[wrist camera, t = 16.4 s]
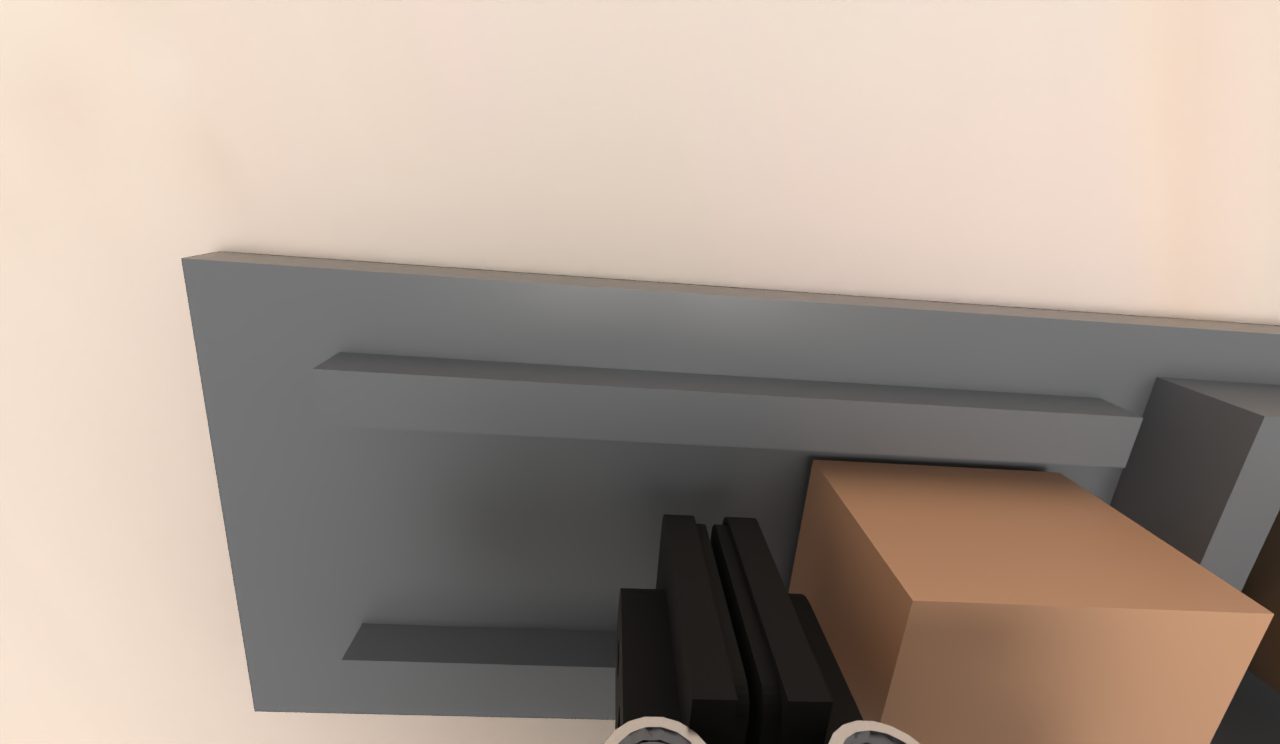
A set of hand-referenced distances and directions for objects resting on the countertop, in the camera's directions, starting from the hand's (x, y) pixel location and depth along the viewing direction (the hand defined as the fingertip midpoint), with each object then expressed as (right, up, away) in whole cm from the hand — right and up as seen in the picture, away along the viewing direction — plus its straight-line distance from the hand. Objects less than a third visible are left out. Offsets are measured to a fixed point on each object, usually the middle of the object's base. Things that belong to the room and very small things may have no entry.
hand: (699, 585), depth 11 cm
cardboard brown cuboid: (+5, 0, +1) cm, 5 cm away
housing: (+5, 0, +3) cm, 5 cm away
